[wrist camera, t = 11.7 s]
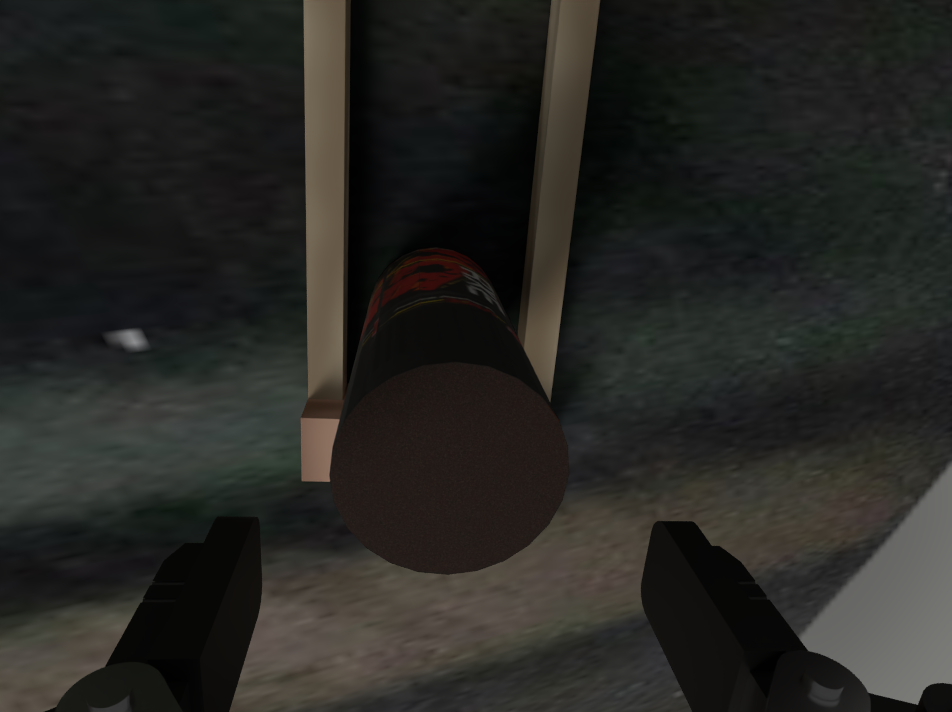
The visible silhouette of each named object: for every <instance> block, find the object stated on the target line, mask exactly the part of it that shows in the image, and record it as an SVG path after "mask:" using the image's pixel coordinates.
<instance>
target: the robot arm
mask: <svg viewBox="0 0 952 712" xmlns="http://www.w3.org/2000/svg"><path fill="white" fill-rule="evenodd" d="M261 595H262V568H261V545H260V525H259V519H258V517H217V518H216V519H215V521H214V523H213V525H212V527H211V529H210V531H209V533H208V535H207V537H206V539H205V541H204V543H185V544H184V545H182V546H181V547H180V548H179V549H177V550H176V551H175V552H174V553H173V554H171V555H170V556H169V557H168V558H167V559H165V560H164V561H163V563H162V565H161V567H160V569H159V570H158V572H157V574H156V576H155V578H154V579H153V581H152V585H150V587H149V588H148V590H147V592H146V594H145V596H144V597H143V602H142V603H140V605H139V606H138V608H137V610H136V612H135V614H134V615H133V617H132V619H131V621H130V623H129V624H128V626H127V628H126V630H125V632H124V633H123V635H122V637H121V639H120V641H119V642H118V644H117V646H116V648H115V650H114V651H113V653H112V655H111V657H110V659H109V660H108V662H107V664H106V666H105V667H104V668H101V669H98V670H96V671H94V672H92V673H90V674H88V675H87V676H85V677H84V678H82V679H80V680H79V681H78V682H77V683H75V684H74V685H73V686H72V687H71V688H70V689H69V690H68V691H67V692H66V693H65V694H64V695H63V697H62V698H61V699H60V701H59V703H58V705H57V707H55V708H53V709H50V710H48V711H45V712H229V710H230V707H231V704H232V700H233V697H234V694H235V691H236V687H237V684H238V681H239V677H240V674H241V671H242V667H243V664H244V661H245V658H246V654H247V651H248V648H249V644H250V641H251V638H252V634H253V631H254V628H255V624H256V621H257V618H258V614H259V609H260V603H261ZM641 598H642V604H643V608H644V611H645V614H646V616H647V618H648V620H649V622H650V625H651V627H652V629H653V631H654V633H655V635H656V637H657V639H658V641H659V643H660V645H661V647H662V649H663V652H664V654H665V656H666V658H667V660H668V662H669V664H670V666H671V668H672V670H673V672H674V674H675V676H676V678H677V681H678V683H679V685H680V687H681V689H682V691H683V693H684V695H685V697H686V699H687V701H688V703H689V705H690V708H691V710H692V712H952V684H944V683H937V684H932V685H930V686H928V687H926V689H925V690H924V691H923V694H922V696H921V698H920V701H919V703H918V705H916V704H912V703H907V702H903V701H899V700H895V699H891V698H887V697H883V696H878V695H874V694H871V693H868V692H867V690H866V688H865V686H864V685H863V684H862V682H861V681H860V680H859V679H858V678H857V677H856V676H855V675H854V674H853V673H852V672H851V671H850V670H848V669H847V668H846V667H844V666H843V665H841V664H840V663H838V662H836V661H834V660H833V659H830V658H828V657H826V656H823V655H821V654H818V653H814V652H810V651H808V650H807V649H806V647H805V646H804V645H803V643H802V642H801V641H800V639H799V638H798V637H797V635H796V634H795V633H794V631H793V630H792V629H791V627H790V626H789V625H788V623H787V622H786V621H785V620H784V618H783V617H782V616H781V614H780V613H779V612H778V610H777V609H776V608H775V606H774V605H773V604H772V602H771V601H770V600H767V597H766V594H765V593H764V592H763V590H762V589H761V588H760V586H759V585H758V584H755V580H754V578H753V577H752V576H751V575H750V573H749V572H748V571H747V569H746V568H745V567H744V565H743V564H742V563H741V562H740V561H739V560H738V559H736V558H735V557H734V556H732V555H731V554H730V553H728V552H727V551H726V550H724V549H723V548H721V547H720V546H712V545H711V544H710V543H709V541H708V540H707V539H706V537H705V536H704V534H703V533H702V532H701V530H700V529H699V527H698V526H697V525H696V524H695V523H694V522H692V521H657V522H656V523H655V524H654V525H653V528H652V531H651V536H650V541H649V546H648V551H647V556H646V561H645V566H644V572H643V577H642V582H641Z"/></svg>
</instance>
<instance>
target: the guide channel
mask: <svg viewBox="0 0 952 712" xmlns="http://www.w3.org/2000/svg"><path fill="white" fill-rule="evenodd" d="M599 5H600V0H551V9H550V19H549V29H548V39H547V49H546V58H545V68H544V78H543V88H542V98H541V108H540V117H539V127H538V137H537V147H536V157H535V167H534V176H533V186H532V196H531V206H530V216H529V226H528V235H527V245H526V255H525V265H524V275H523V285H522V294H521V304H520V314H519V324H518V334H517V336H518V338H519V340H520V342H521V344H522V346H523V348H524V350H525V352H526V354H527V356H528V358H529V360H530V362H531V364H532V366H533V368H534V371H535V373H536V375H537V377H538V379H539V381H540V383H541V385H542V387H543V389H544V391H545V393H546V395H547V397H548V399H549V401H551V393H552V385H553V377H554V369H555V361H556V353H557V344H558V336H559V328H560V320H561V312H562V304H563V296H564V288H565V280H566V272H567V264H568V256H569V248H570V240H571V231H572V223H573V215H574V207H575V199H576V191H577V183H578V175H579V167H580V159H581V151H582V143H583V135H584V127H585V118H586V110H587V102H588V94H589V86H590V78H591V70H592V62H593V54H594V46H595V38H596V30H597V22H598V14H599ZM350 17H351V0H304V67H305V155H306V243H307V331H308V401H307V403H306V406H305V409H304V411H303V414H302V416H301V462H302V481H326V482H330V477H329V473H330V465H331V456H332V447H333V443H334V439H335V436H336V432H337V428H338V424H339V420H340V416H341V412H342V408H343V404H344V400H345V397H346V393H347V389H348V385H349V383H347V316H348V216H349V117H350Z"/></svg>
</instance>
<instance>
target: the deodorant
mask: <svg viewBox="0 0 952 712" xmlns="http://www.w3.org/2000/svg"><path fill="white" fill-rule="evenodd" d="M568 476H569V459H568V445H567V442H566V439H565V436H564V434H563V431H562V428H561V425H560V422H559V419H558V417H557V415H556V413H555V411H554V409H553V407H552V405H551V403H550V401H549V399H548V397H547V395H546V393H545V391H544V389H543V387H542V385H541V383H540V381H539V379H538V377H537V375H536V373H535V371H534V368H533V366H532V364H531V362H530V360H529V358H528V356H527V354H526V352H525V350H524V348H523V346H522V344H521V342H520V340H519V338H518V336H517V334H516V332H515V330H514V328H513V326H512V324H511V322H510V320H509V318H508V316H507V314H506V312H505V309H504V307H503V305H502V303H501V301H500V299H499V297H498V295H497V293H496V291H495V289H494V287H493V285H492V283H491V281H490V280H489V278H488V277H487V275H486V274H485V272H484V271H483V270H482V268H481V267H480V266H478V265H477V264H476V263H475V262H474V261H472V260H471V259H470V258H469V257H467V256H465V255H462V254H460V253H458V252H456V251H454V250H449V249H443V248H436V247H435V248H425V249H418V250H415V251H412V252H410V253H407V254H405V255H402V256H401V257H400V258H398V259H397V260H395V261H394V262H393V263H391V264H390V265H389V266H388V267H387V268H386V269H385V271H384V272H383V273H382V274H381V276H380V277H379V278H378V280H377V283H376V285H375V287H374V290H373V292H372V295H371V299H370V303H369V307H368V311H367V315H366V319H365V322H364V326H363V330H362V334H361V338H360V342H359V346H358V350H357V354H356V358H355V361H354V365H353V369H352V373H351V377H350V381H349V385H348V389H347V393H346V397H345V400H344V404H343V408H342V412H341V416H340V420H339V424H338V428H337V432H336V436H335V439H334V443H333V447H332V456H331V465H330V473H329V477H330V482H331V488H332V493H333V498H334V503H335V505H336V507H337V509H338V511H339V513H340V515H341V517H342V519H343V520H344V522H345V524H346V526H347V528H348V529H349V530H350V531H351V532H352V533H353V534H354V535H355V536H356V537H357V538H358V540H359V541H360V542H361V543H362V544H363V545H364V546H365V547H366V548H367V549H369V550H370V551H372V552H374V553H375V554H377V555H379V556H380V557H382V558H383V559H385V560H387V561H388V562H390V563H392V564H395V565H398V566H401V567H404V568H408V569H411V570H414V571H417V572H424V573H435V574H447V575H449V574H456V573H464V572H472V571H478V570H481V569H483V568H486V567H489V566H492V565H494V564H497V563H500V562H503V561H505V560H507V559H508V558H510V557H511V556H513V555H514V554H516V553H517V552H519V551H521V550H522V549H524V548H525V547H527V546H528V545H530V543H531V542H532V541H533V540H534V539H535V538H536V537H537V536H538V535H539V534H540V533H541V532H542V531H543V530H544V529H545V528H546V527H547V526H548V525H549V523H550V522H551V520H552V518H553V516H554V514H555V513H556V511H557V509H558V507H559V506H560V504H561V502H562V500H563V496H564V492H565V488H566V484H567V480H568Z"/></svg>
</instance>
